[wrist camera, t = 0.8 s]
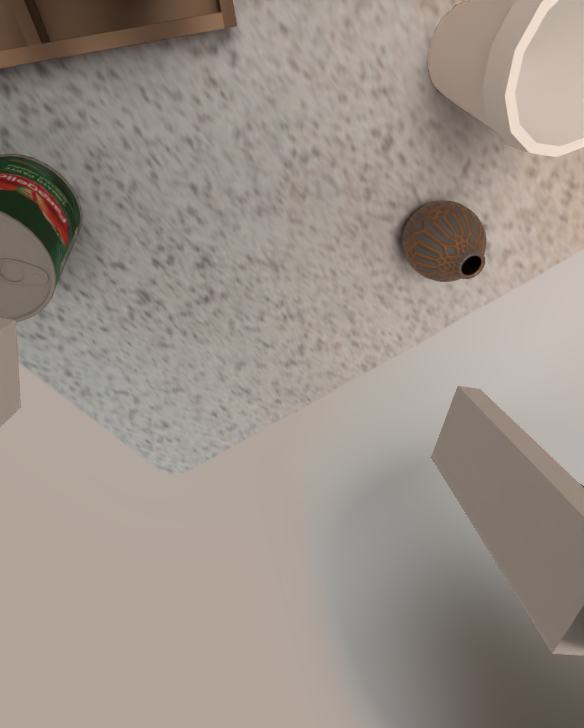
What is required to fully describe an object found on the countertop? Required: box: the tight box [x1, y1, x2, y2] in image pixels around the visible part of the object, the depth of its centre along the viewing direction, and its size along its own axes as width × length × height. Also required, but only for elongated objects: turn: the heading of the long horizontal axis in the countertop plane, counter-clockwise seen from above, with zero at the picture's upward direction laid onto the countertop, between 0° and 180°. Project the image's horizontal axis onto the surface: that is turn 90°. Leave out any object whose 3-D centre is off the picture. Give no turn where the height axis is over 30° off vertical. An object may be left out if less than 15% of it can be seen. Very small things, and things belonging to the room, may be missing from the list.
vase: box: [402, 201, 486, 282], centre depth 40 cm, size 7×7×9 cm
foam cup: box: [427, 0, 584, 157], centre depth 29 cm, size 10×9×13 cm
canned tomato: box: [0, 154, 82, 322], centre depth 30 cm, size 8×8×11 cm
